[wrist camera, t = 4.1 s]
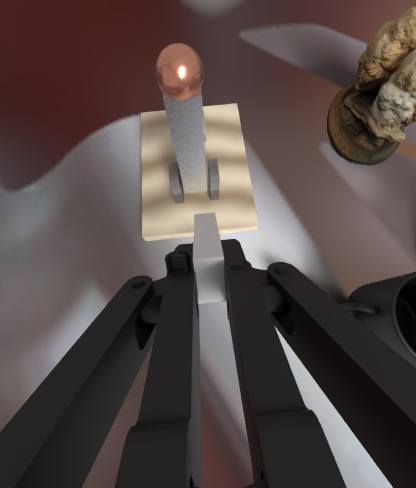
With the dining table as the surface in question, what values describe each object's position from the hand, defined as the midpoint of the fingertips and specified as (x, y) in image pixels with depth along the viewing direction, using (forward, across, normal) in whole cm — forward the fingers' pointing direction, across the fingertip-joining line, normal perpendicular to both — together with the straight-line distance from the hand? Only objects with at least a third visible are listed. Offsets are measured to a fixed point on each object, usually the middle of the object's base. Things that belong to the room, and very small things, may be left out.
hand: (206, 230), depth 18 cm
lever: (+16, -1, 0) cm, 16 cm away
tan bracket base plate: (+23, -1, +1) cm, 23 cm away
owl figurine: (+27, +28, +4) cm, 39 cm away
